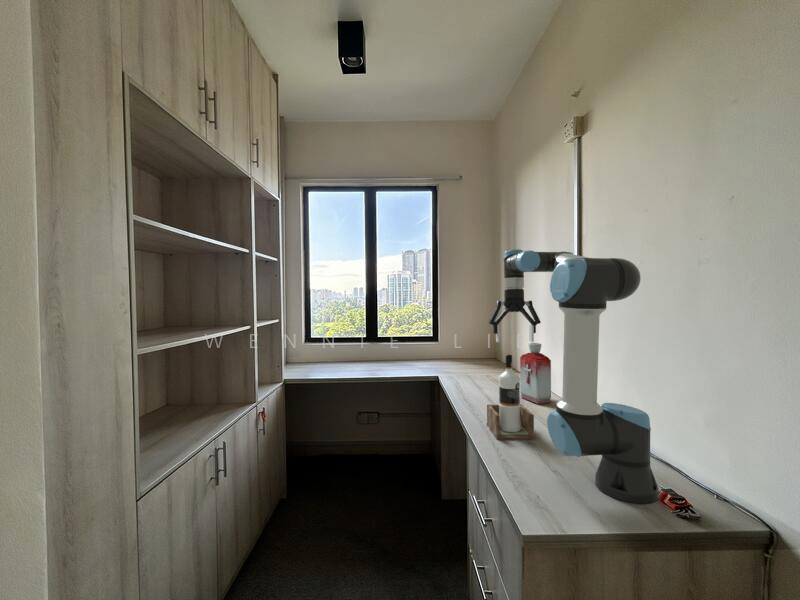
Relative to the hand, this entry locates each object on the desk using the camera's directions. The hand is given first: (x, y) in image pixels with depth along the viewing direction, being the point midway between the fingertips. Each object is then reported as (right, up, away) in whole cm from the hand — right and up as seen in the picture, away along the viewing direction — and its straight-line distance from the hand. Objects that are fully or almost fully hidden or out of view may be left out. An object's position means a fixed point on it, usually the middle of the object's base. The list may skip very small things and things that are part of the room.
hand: (514, 341), depth 148 cm
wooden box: (-2, -36, +1) cm, 36 cm away
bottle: (+25, -36, +45) cm, 63 cm away
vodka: (-2, -35, +1) cm, 35 cm away
